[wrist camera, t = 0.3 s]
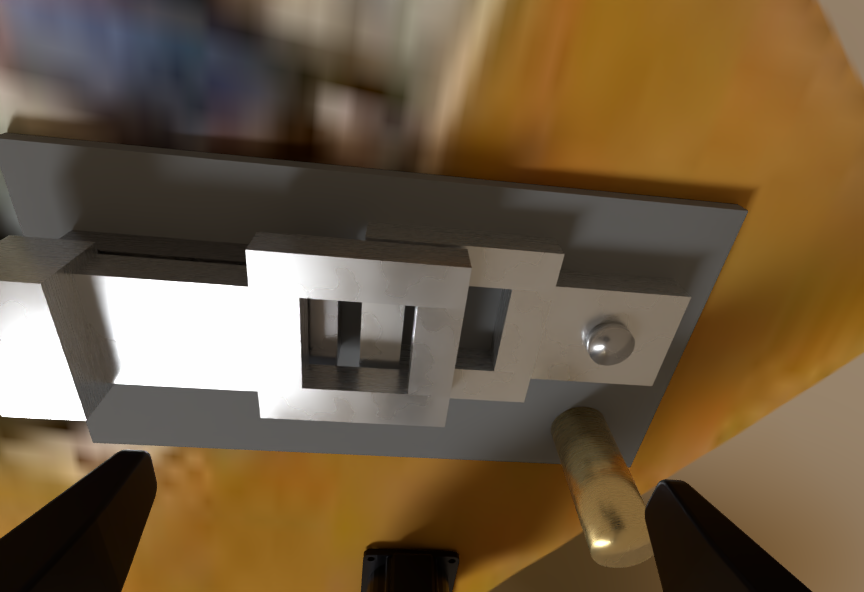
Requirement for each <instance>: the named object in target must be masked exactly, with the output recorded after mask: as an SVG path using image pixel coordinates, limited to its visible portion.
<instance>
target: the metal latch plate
mask: <svg viewBox="0 0 864 592" xmlns="http://www.w3.org/2000/svg"><path fill="white" fill-rule="evenodd" d="M245 252H246V263H247V266H244V265H232V264H219V263H206V262H193V261H180V260H168V259H155V258H142V257H129V256H117V255H104V254H98V250H97V246H96V242H88V241H76V240H63V239H51V238H38V237H26V236H13V235H9V236H8V237H6V238H4V239H2V240H1V241H0V413H1V416H2V417H21V418H41V419H62V420H82V421H87V419H88V418H89V417H90V415H91V414H92V413H93V411H94V410H95V409H96V408H97V406H98V405H99V404H100V402H101V401H102V400H103V399H104V397H105V396H106V395H107V393H108V392H109V391H110V390H111V388H112V387H113V386H114V384H115V383H118V384H136V385H154V386H171V387H189V388H207V389H225V390H243V391H258V397H259V408H260V418H274V419H293V420H313V421H332V422H352V423H371V424H391V425H410V426H430V427H445V423H446V417H447V411H448V405H449V399H450V393H451V388H452V382H453V376H454V370H455V364H456V358H457V352H458V347H459V341H460V335H461V329H462V323H463V317H464V312H465V306H466V300H467V294H468V288H469V282H470V276H471V271H472V266H471V262H470V258H469V254H468V249H460V248H448V247H436V246H424V245H413V244H401V243H389V242H377V241H365V240H353V239H342V238H330V237H318V236H306V235H294V234H283V233H271V232H259V231H257V233H256V234H255V236H254V237H253V239H252V240H251V242H250V243H249V245H248V246H247V248H246V249H245ZM307 298H310V299H323V300H337V301H351V302H364V303H378V304H391V305H405V306H415V310H414V319H413V328H412V337H411V346H410V356H409V365H408V370H397V369H381V368H365V367H348V366H332V365H316V364H309V350H308V301H307Z"/></svg>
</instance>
